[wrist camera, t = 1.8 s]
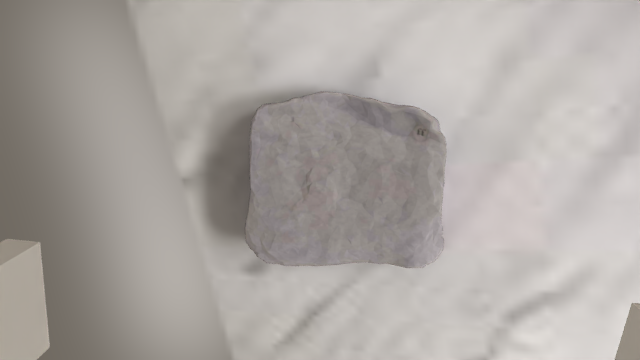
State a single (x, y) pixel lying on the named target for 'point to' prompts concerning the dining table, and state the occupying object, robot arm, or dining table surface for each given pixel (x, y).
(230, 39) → the dining table surface
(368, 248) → the stone block
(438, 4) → the dining table surface
